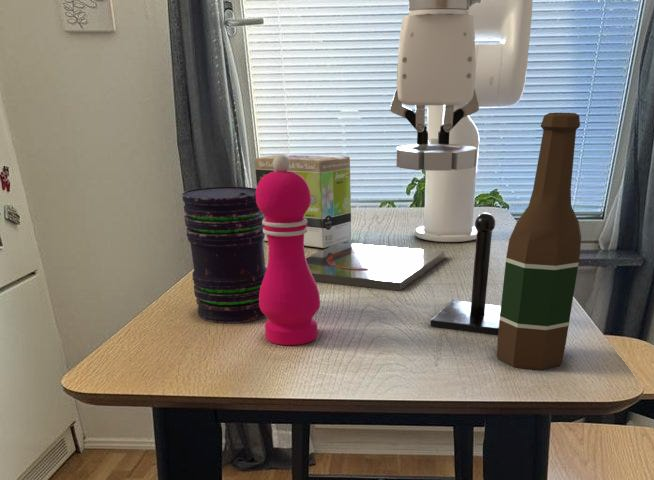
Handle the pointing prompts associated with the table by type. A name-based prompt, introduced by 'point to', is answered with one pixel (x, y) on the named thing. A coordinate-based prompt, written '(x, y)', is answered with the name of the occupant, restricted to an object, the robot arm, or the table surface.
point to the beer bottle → (543, 257)
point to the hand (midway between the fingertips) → (431, 162)
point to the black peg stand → (474, 290)
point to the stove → (371, 265)
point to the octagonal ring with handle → (436, 156)
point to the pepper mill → (286, 258)
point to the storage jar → (226, 252)
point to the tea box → (320, 195)
